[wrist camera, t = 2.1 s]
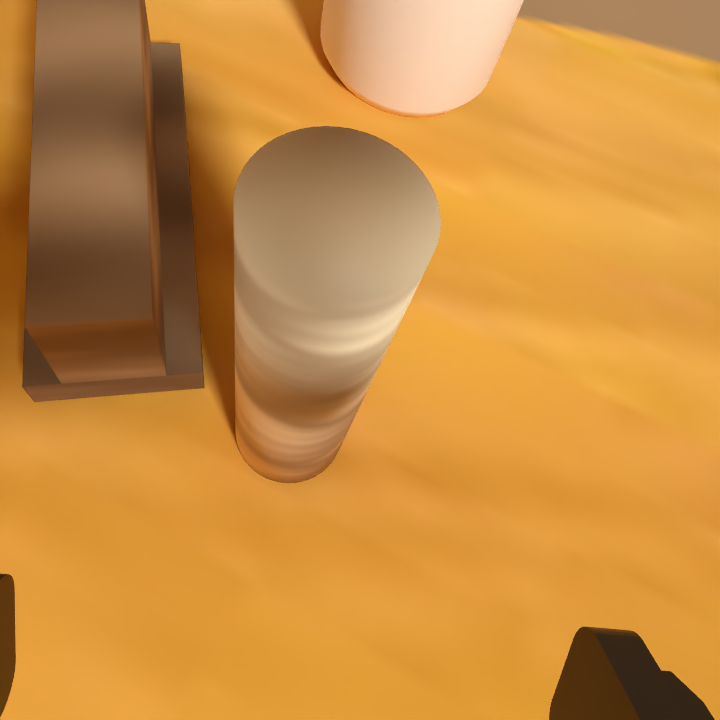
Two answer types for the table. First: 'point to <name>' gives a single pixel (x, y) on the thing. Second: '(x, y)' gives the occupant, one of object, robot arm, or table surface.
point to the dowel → (320, 287)
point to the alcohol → (416, 50)
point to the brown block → (108, 210)
